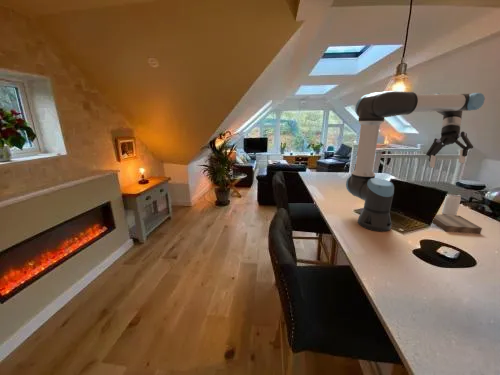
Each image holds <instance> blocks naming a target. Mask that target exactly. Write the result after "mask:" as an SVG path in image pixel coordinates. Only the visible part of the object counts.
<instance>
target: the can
mask: <svg viewBox="0 0 500 375" xmlns="http://www.w3.org/2000/svg"><path fill="white" fill-rule="evenodd" d="M446 195H447V196H446ZM446 195H445V199H444V203H443V206H442V209H441V215H457V213H458V210H459V208H460V203H461V200H462V198H461V194H458V193H454V192H453V193H452V192H451V193H450V192H449V193H448V192H447V194H446Z"/></svg>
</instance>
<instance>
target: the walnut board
mask: <svg viewBox="0 0 500 375" xmlns="http://www.w3.org/2000/svg"><path fill="white" fill-rule="evenodd" d="M436 214H437V215H436V216H435V218H434V220H433V223H432V224H434V225H436V226H437V227H439V228H440V230H442V231H444V232H448V233H458V234H459V233H462V234H473V235H474V234H475V235H476V234H478V235H481V233H482V230H483V228H482V227H481V226H479V225H477V224H475V223H474V222H471V221H470V220H468V219H466V218H464V217H463V216H460V215H457V214H456V215H444V214H440V213H439V214H438V213H436Z"/></svg>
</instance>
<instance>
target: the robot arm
mask: <svg viewBox="0 0 500 375" xmlns="http://www.w3.org/2000/svg"><path fill="white" fill-rule="evenodd" d="M485 99H486V98H485V94H483V93H482V92H472V93H439V92H438V93H430V94H429V93H428V94H427V93H426V94H425V93H424V94H423V93H422V94H420V93H419V94H418V93H416V92H414V91H397V90H385V91H380V92H379V91H378V92H370V93H368V94H364V95H362V96H361V97H360V98H359V99H358V101H357V102H356V104H355V110H354V111H355V113H356V116H357V117H358V120H357V122H358V123H359V124H360V130H359V138H358V146H357V153H356V159H355V160H356V161H355V166H354V170H353V171H352V172H351V175H349V176H348V178H347V179H346V182H345V187H346V190H347V191H348V193H350V194H351V195H352V196H354V197H356V198H359V199H360V200H362V201H364V204H363V209H362V211H361V213H360V214H359V216H358V219H357V224H358V225H359V226H360V227H363V228H365V229H367V230H370V231H374V232H375V231H376V232H388V231H391V228H392V220H391V214H390V213H391V212H390V211H391V208H392V203H393V200H394V194H395V185H394V183H393V182H391V181H389V180H387V179H382V178H379V177H376V173H375V172H374V170H373V169H374V164H375V159H376V152H377V146H378V145H377V144H378V139H379V138H378V137H379V132H380V125H382V123H384V122H385V118H391V117H396V116H397V117H398V116H404V115H411V114H412V113H427V112H430V113H431V112H435V113H436V112H437V113H439V114H440V115H442V116H443V117H442V122H441V123H442V124H441V131H440V132H441V133H440V135H441V137H440V138H434V140H433V142H432V144H431V145H430V148H429V149H428V150H427V152H426V153H425V154H426V155H425V156H427V157H429V159H428V162H429V167H430V168H431V169H435V166H436V161H437V160H436V159H437V156H436V155H437V154H438V153H439V152H440V151H441V150H442V149H443V148H444V147H446V146H449V145H453V144H454V143H455V144H456V145H457V146H458V147H460V148H461V149H459V150H460V151H459V157H458V163H460V164H462V165H464V164H465V162H466V157H467V156H468V152H469V151H468V150H470V149H473V148H474V145H473V144H472V142H471V140H470V139H469V138H468V134H467V132H465V131H461V125H462V118H463V112H464V111H477V110H479V109H480V108H482V107H483V105H484V103H485ZM459 138H461V139H462V141H463V142H464V144H465V145H464V144H463V143H462V142H461V141H459Z"/></svg>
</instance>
